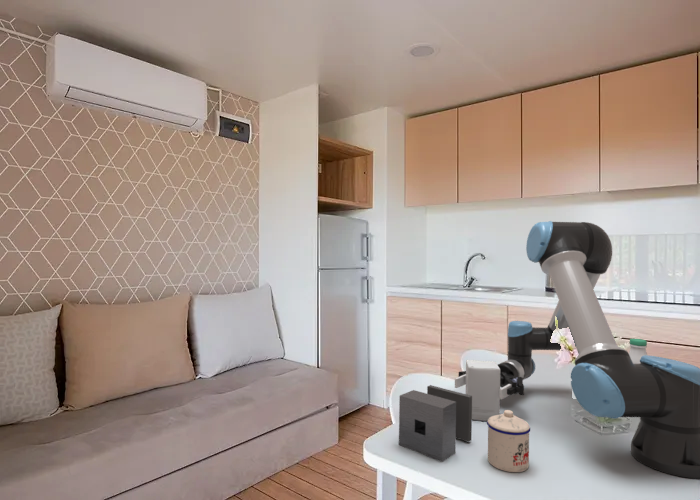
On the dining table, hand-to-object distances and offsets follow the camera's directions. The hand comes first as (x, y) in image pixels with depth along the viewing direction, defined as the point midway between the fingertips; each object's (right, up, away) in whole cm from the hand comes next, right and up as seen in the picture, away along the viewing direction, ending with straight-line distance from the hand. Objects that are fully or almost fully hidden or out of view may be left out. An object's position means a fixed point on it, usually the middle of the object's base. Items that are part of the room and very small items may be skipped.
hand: (477, 388), depth 121 cm
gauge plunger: (-15, -8, -14) cm, 22 cm away
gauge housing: (-16, -8, -15) cm, 23 cm away
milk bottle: (+57, -10, +16) cm, 60 cm away
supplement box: (+2, -9, +2) cm, 9 cm away
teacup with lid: (0, -9, -25) cm, 26 cm away
